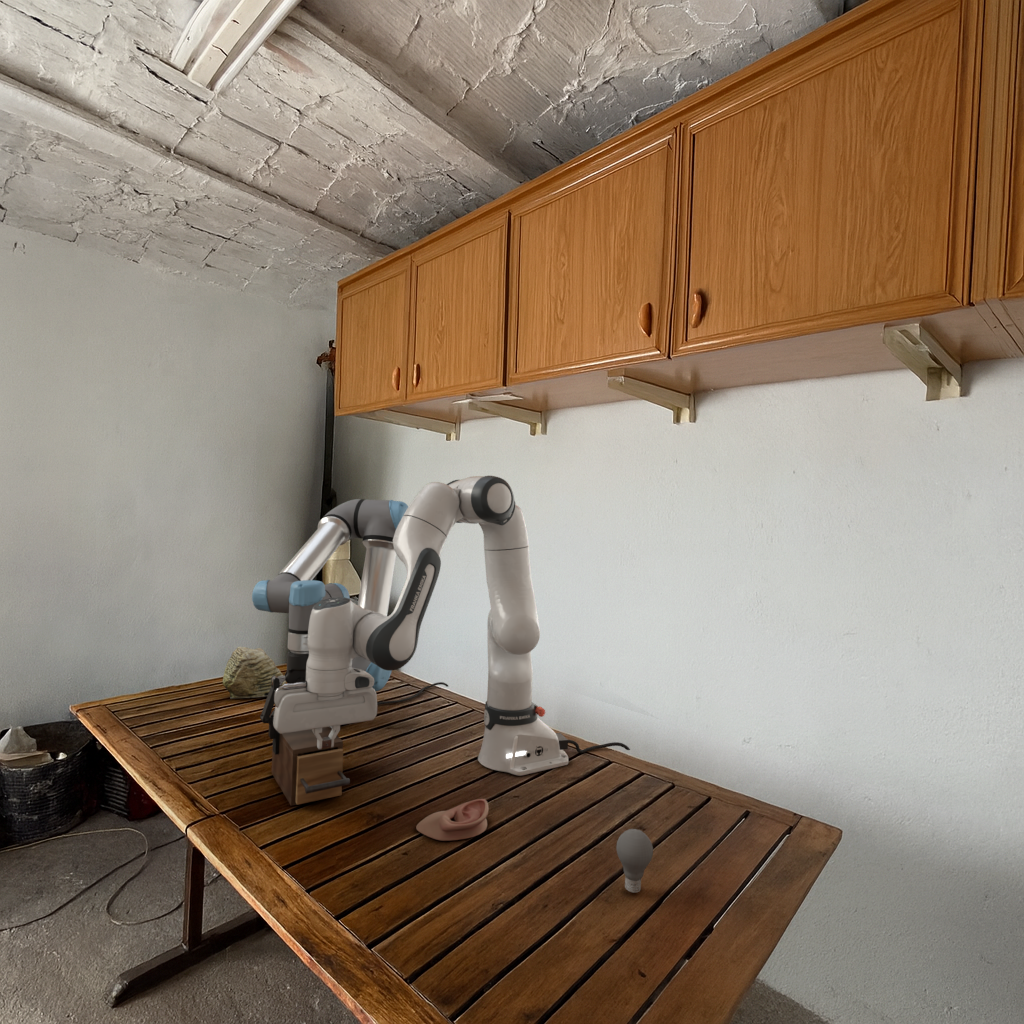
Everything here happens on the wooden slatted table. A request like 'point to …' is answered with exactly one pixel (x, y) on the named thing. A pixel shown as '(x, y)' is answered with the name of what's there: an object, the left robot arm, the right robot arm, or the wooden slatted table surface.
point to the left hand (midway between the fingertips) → (301, 747)
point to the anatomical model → (456, 821)
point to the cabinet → (295, 757)
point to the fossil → (249, 673)
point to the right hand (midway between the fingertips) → (325, 747)
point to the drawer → (319, 775)
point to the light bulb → (634, 857)
